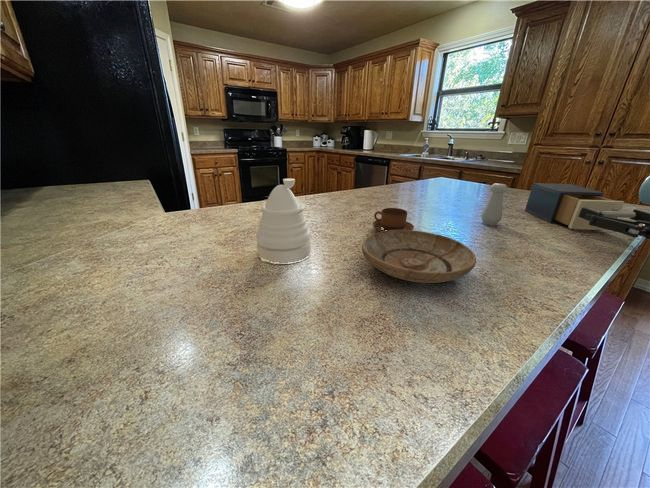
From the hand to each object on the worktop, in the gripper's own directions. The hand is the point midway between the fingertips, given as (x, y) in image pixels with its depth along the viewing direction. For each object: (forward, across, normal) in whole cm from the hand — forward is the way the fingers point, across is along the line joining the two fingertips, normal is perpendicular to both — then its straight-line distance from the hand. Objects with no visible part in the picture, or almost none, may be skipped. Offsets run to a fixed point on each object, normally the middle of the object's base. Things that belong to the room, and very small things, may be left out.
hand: (606, 213), depth 76 cm
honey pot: (-23, -88, -7) cm, 92 cm away
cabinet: (+18, 0, -7) cm, 19 cm away
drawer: (+6, 0, -6) cm, 9 cm away
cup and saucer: (-4, -60, -7) cm, 61 cm away
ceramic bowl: (-27, -58, -7) cm, 65 cm away
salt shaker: (+7, -27, -7) cm, 29 cm away
